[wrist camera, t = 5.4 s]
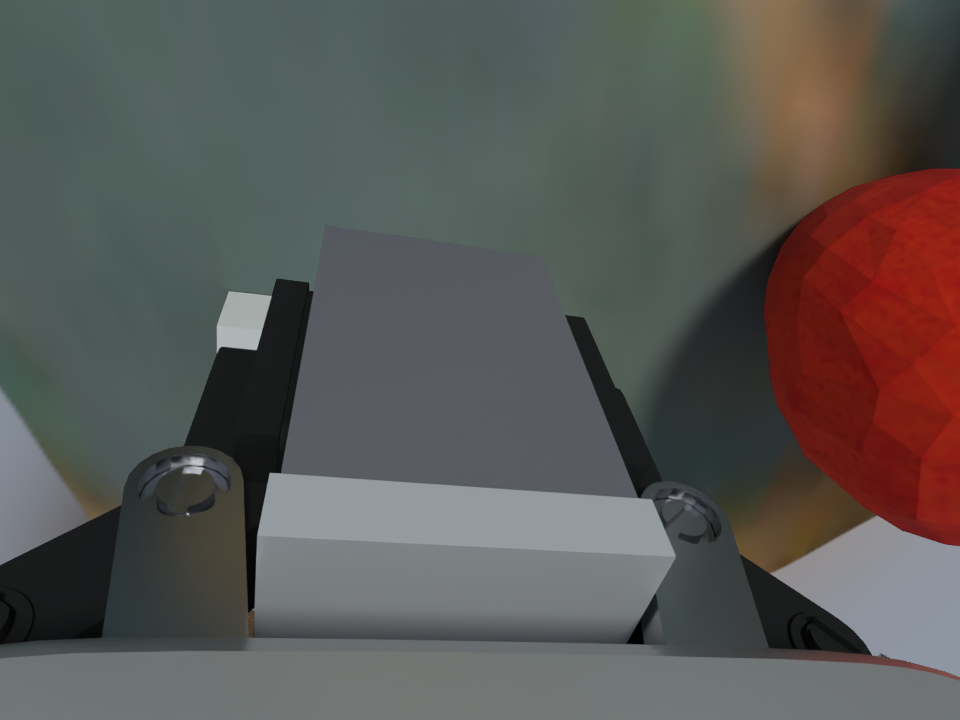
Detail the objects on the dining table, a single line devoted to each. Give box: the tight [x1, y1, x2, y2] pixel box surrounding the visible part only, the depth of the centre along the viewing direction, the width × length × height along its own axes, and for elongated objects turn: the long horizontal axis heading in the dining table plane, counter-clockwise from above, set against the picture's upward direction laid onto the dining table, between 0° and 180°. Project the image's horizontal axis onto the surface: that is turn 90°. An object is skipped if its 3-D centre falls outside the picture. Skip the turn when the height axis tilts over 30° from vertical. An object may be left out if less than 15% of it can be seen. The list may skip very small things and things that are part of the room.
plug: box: [253, 225, 676, 644], centre depth 11 cm, size 4×4×7 cm
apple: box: [763, 169, 960, 546], centre depth 23 cm, size 12×12×13 cm
